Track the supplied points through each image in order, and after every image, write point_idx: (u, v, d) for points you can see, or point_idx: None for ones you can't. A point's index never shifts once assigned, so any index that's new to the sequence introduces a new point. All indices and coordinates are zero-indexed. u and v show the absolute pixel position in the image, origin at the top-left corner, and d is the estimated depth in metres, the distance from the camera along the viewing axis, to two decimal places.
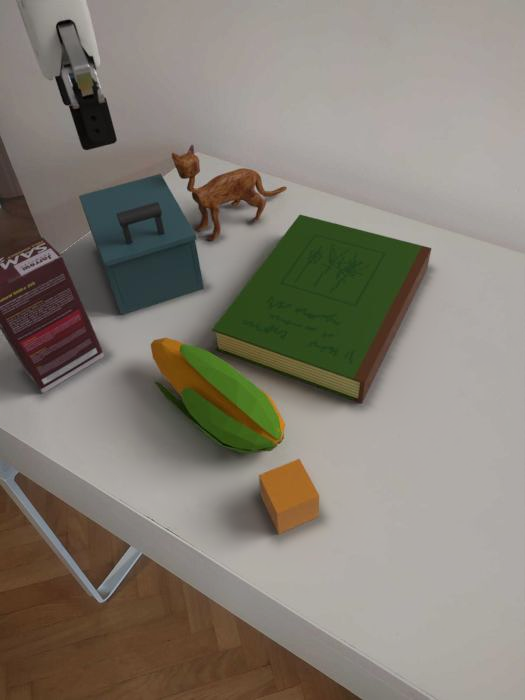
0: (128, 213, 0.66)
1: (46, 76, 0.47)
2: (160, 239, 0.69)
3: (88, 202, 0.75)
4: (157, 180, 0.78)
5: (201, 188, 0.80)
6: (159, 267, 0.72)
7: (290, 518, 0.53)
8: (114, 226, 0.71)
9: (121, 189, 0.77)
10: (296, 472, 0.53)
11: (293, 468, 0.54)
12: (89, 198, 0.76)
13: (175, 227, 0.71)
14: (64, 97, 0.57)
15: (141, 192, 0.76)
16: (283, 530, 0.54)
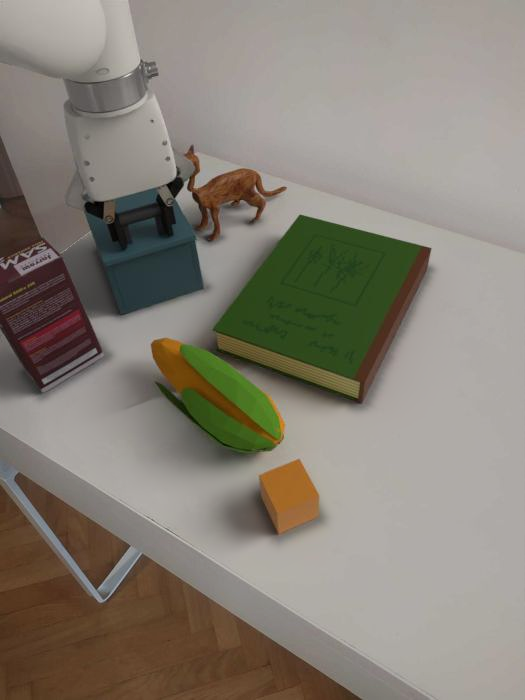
0: (128, 213, 0.66)
1: None
2: (160, 239, 0.69)
3: None
4: None
5: (201, 188, 0.80)
6: (159, 267, 0.72)
7: (290, 518, 0.53)
8: None
9: None
10: (296, 472, 0.53)
11: (293, 468, 0.54)
12: None
13: (175, 227, 0.71)
14: None
15: (141, 192, 0.76)
16: (283, 530, 0.54)
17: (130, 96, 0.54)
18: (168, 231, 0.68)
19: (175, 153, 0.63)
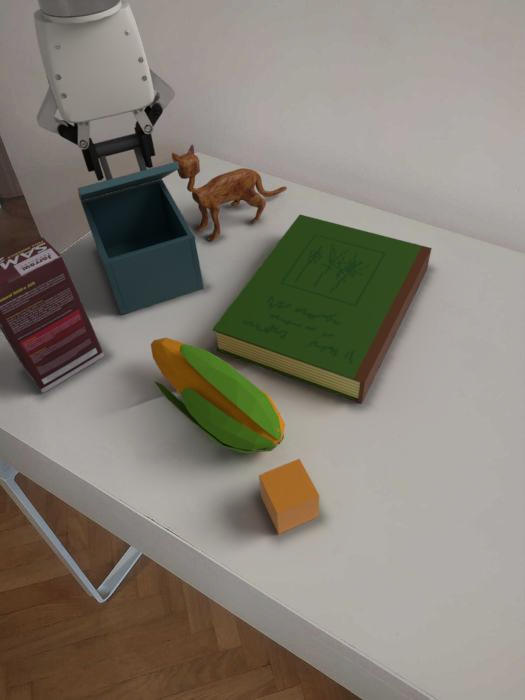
0: (104, 141, 0.64)
1: None
2: None
3: None
4: None
5: (201, 188, 0.80)
6: (159, 267, 0.72)
7: (290, 518, 0.53)
8: None
9: None
10: (296, 472, 0.53)
11: (293, 468, 0.54)
12: None
13: None
14: None
15: None
16: (283, 530, 0.54)
17: (102, 0, 0.52)
18: (147, 162, 0.66)
19: (153, 75, 0.60)
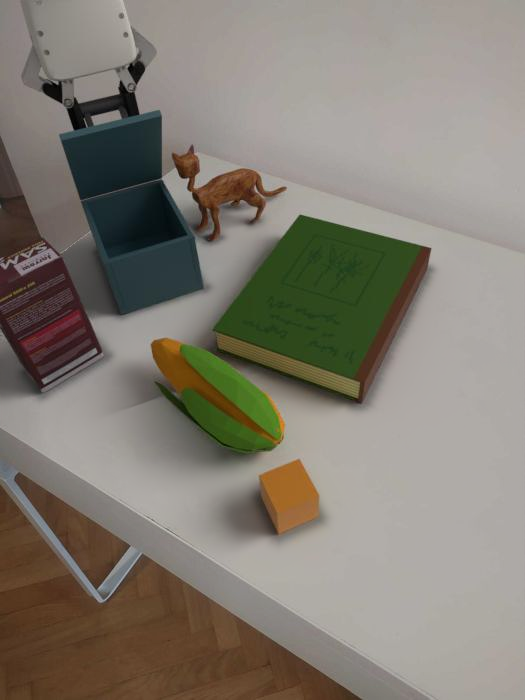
0: (88, 101, 0.65)
1: None
2: None
3: None
4: None
5: (201, 188, 0.80)
6: (159, 267, 0.72)
7: (290, 518, 0.53)
8: None
9: None
10: (296, 472, 0.53)
11: (293, 468, 0.54)
12: None
13: None
14: None
15: None
16: (283, 530, 0.54)
17: None
18: None
19: (134, 32, 0.61)
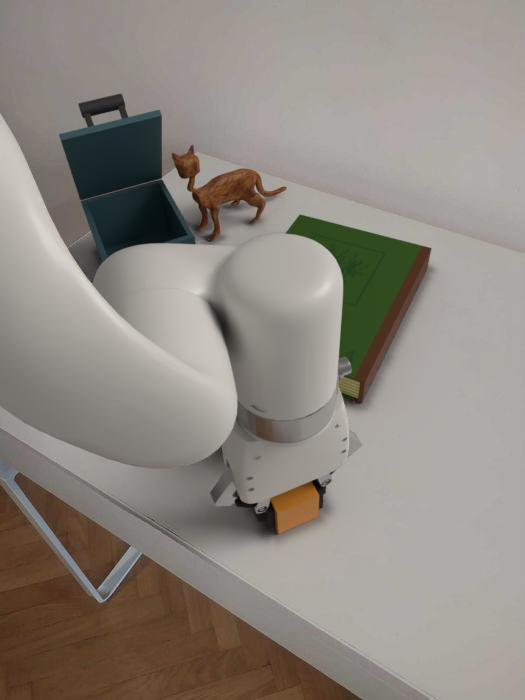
0: (88, 101, 0.65)
1: None
2: None
3: None
4: None
5: (201, 188, 0.80)
6: None
7: (290, 518, 0.53)
8: None
9: None
10: None
11: None
12: None
13: None
14: None
15: None
16: (283, 530, 0.54)
17: (324, 420, 0.40)
18: None
19: None
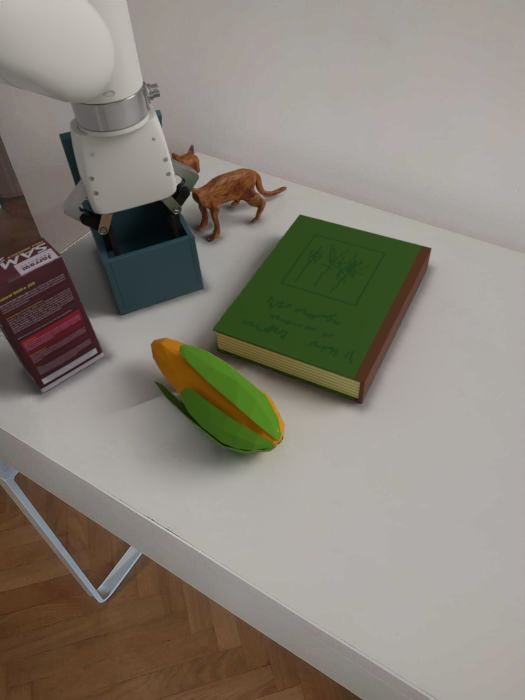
0: None
1: None
2: None
3: None
4: None
5: (201, 188, 0.80)
6: (159, 267, 0.72)
7: None
8: None
9: None
10: None
11: None
12: None
13: None
14: (167, 225, 0.73)
15: None
16: None
17: (133, 116, 0.57)
18: (174, 238, 0.71)
19: (177, 165, 0.66)
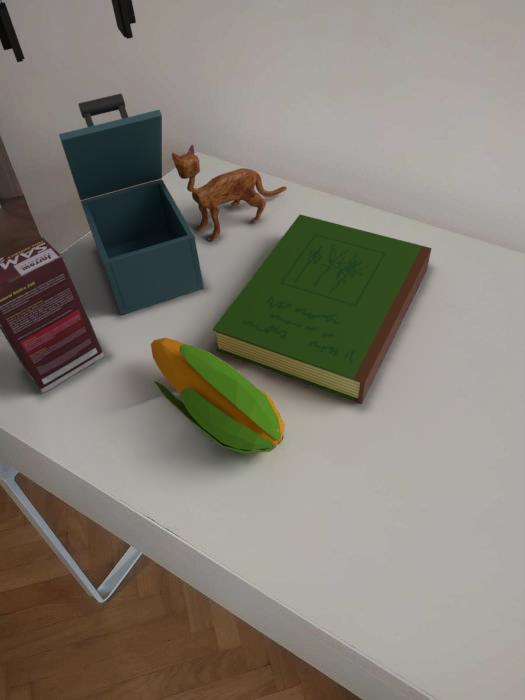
0: (88, 101, 0.65)
1: None
2: None
3: None
4: None
5: (201, 188, 0.80)
6: (159, 267, 0.72)
7: None
8: None
9: None
10: None
11: None
12: None
13: None
14: (116, 18, 0.53)
15: None
16: None
17: None
18: (125, 29, 0.51)
19: None
